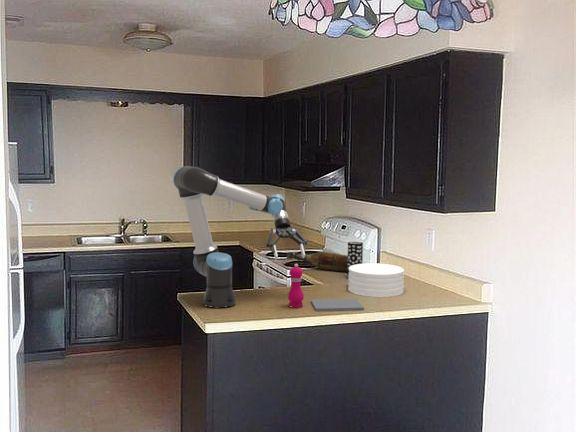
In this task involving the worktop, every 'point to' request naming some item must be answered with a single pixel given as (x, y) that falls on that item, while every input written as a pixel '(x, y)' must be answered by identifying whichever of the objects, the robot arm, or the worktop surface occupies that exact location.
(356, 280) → the plate stack
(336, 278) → the worktop surface
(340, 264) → the decorative bottle
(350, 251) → the white-spotted black cylinder
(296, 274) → the pepper mill
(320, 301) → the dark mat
